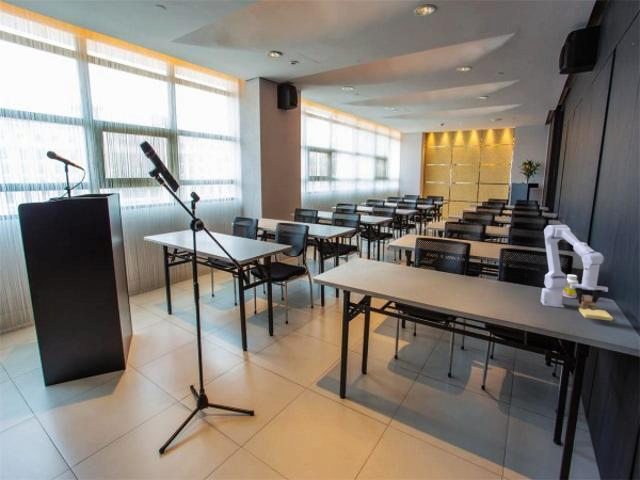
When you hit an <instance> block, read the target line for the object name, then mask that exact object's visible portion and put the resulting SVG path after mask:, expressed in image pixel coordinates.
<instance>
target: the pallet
mask: <svg viewBox="0 0 640 480" xmlns="http://www.w3.org/2000/svg"><path fill="white" fill-rule="evenodd" d="M576 303H577V305H578V306H579V308H582V309H591V310H597V308H596V307H597V302H596V303H594V302H593V301H592V302H586V301H583V300H582V301H581V304H579V303H578V301H577V302H576Z"/></svg>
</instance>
